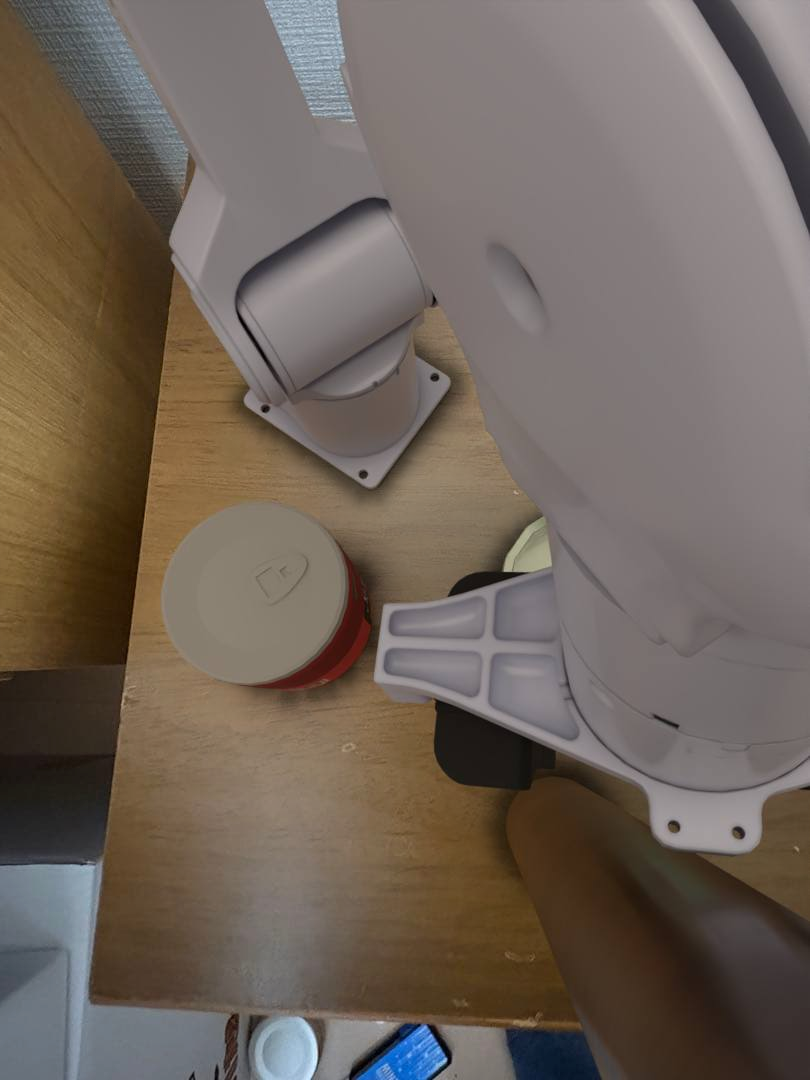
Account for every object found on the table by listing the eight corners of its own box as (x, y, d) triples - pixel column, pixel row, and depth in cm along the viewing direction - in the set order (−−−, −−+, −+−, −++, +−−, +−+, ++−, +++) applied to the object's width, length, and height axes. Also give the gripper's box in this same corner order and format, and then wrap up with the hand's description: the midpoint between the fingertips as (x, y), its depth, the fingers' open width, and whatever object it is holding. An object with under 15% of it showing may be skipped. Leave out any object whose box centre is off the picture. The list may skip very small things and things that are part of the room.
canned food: (403, 608, 43) (385, 574, 32) (306, 723, 42) (254, 727, 31) (299, 522, 44) (249, 461, 34) (203, 631, 43) (120, 605, 33)
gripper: (282, 782, 13) (432, 852, 25) (1370, 882, 10) (948, 909, 22) (344, 431, 16) (452, 642, 28) (1196, 409, 13) (909, 662, 25)
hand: (667, 743), depth 25 cm, fingers open, 7 cm apart
